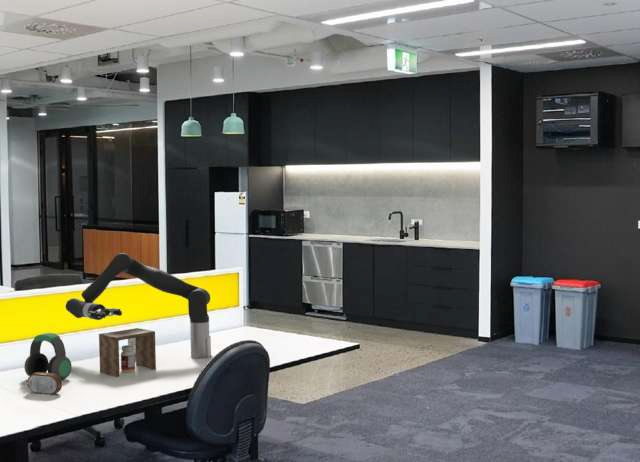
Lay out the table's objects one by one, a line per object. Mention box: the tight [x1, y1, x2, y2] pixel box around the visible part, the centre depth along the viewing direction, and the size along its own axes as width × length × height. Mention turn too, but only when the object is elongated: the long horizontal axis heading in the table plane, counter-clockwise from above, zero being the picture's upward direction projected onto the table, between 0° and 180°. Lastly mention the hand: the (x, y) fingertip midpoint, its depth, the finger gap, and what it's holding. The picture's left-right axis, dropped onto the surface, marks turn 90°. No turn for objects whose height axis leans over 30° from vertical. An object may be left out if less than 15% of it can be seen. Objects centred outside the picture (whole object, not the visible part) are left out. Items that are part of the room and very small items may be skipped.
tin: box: [27, 372, 63, 395], centre depth 324 cm, size 15×3×8 cm, turn 71°
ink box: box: [127, 338, 136, 358], centre depth 397 cm, size 9×5×12 cm, turn 56°
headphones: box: [23, 332, 72, 381], centre depth 350 cm, size 19×11×20 cm, turn 65°
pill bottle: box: [120, 344, 136, 373], centre depth 364 cm, size 6×6×11 cm
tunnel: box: [98, 327, 157, 378], centre depth 363 cm, size 14×20×18 cm
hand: (113, 314), depth 370 cm, fingers open, 8 cm apart
